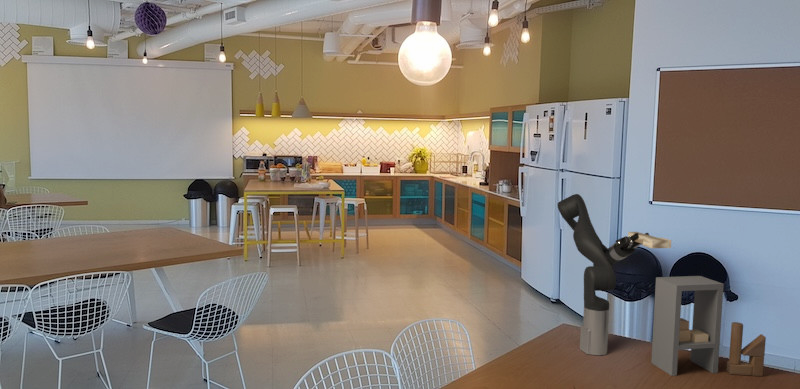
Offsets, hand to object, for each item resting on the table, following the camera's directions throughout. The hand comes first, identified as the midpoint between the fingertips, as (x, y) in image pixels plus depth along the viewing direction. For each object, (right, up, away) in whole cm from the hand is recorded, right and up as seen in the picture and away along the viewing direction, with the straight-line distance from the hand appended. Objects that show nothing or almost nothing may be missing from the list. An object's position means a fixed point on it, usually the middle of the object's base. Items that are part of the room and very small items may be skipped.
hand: (642, 235), depth 240 cm
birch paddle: (0, -3, -2) cm, 4 cm away
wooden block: (+24, -47, -29) cm, 60 cm away
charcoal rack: (+5, -46, -25) cm, 52 cm away
